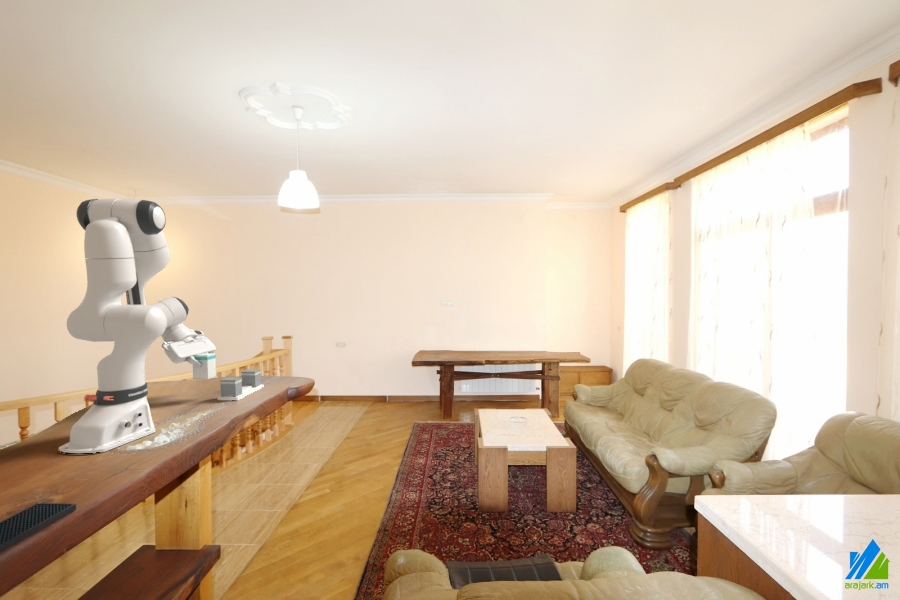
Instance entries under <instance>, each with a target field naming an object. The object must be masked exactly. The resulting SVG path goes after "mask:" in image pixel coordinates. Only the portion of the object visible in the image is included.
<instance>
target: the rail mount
mask: <svg viewBox="0 0 900 600" xmlns="http://www.w3.org/2000/svg"><path fill="white" fill-rule="evenodd" d="M261 375H262V374H261V369H255V368H254V369H253V368H250V369H249V368H248V369H244V370H241V371H240V377H239V376H238V377H232V376H230V377H228V376H227V377H225V378H222V379H220V380H219V385H220V395H219V396H217V401H232V400H238V401H240V400H242V399H244V398H246V397H247V395H248V396H249V394H250V395H252V394H254V393H255V391H256V392H257V390H258V391H259V390H262V389H263V388H264V387H265V384H262V380H261V378H262V377H261ZM262 387H263V388H262ZM253 392H254V393H253ZM251 393H252V394H251ZM245 396H246V397H245Z"/></svg>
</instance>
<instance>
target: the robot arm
mask: <svg viewBox="0 0 900 600" xmlns="http://www.w3.org/2000/svg"><path fill="white" fill-rule="evenodd" d="M76 219H77V221H78V224H79V226H80V227H81V228H82V230H84V231H85V232H84V239H83V241H84V242H83V245H84V246H83V247H84V248H83V249H84V260H85V268H86V270H85V271H86V279H87V280H86V281H87V284H86V285H87V286H86V292H85V295H84V298H83V300H82V301H81V303H80V304H79V305H78V307H76V308H75V309H74V310H71V312H70V314H69V315H68V317H67V319H66V329H67V332H68V333H69V334H70V336H72V338H75V339H77V340H82V341H87V342H94V343H96V342H98V343H99V342H102V343H103V342H114V343H113V344H114V345H113V348H112V352H111V353H110V354H109V355H106V356H105V357H103V358H102V359H101V360H99V362H98V364H97V366H96V369H97V370H96V374H97V388H98V389H97V390H96V392H95V394H85V396H84V397H83V401H84V402H86V403H87V402H88V403H89V402H91V403H92V406H91V407H90V408H89V409H88V410H86V412H85V413H84V414H83V415H82V416H81V417H80V418H79V419H78V420H77V421H76V422H75V423H74V424H73V425H72V426H71V428H70V435H69V442H66V443H64V444H62V445H60V446H59V447H58V451H59V450H60V451H63V452H69V453H93V454H97V453H96V452H100V453H105V452H107V451H110V450H112V449H115V448H118V447H120V446H123V445H126V444H128V443H131V442H134V441H136V440H138V439H141V438H144V437H146V436H148V435H151V434H154V433H156V427H155V423H154V421H153V418H152V413H151V408H150V405H149V402H148V399H147V398H148V397H147V396H148V394H149V392H148V391H149V387H148V383H147V382H146V358H147V354H148V351H149V349H150V348H151V345H153V343H154V341H156V340H157V339H158V338H160V337H161V338H162V340H163V341H164V342H162V344H161V347H162V349H163V350H164V353H165V355H166V356H167V357H168V359H169V360H170V361H171V362H172V363H174V364H180V363H181V364H182V363H184V362H187V363H189V364H191V365H192V366H193V365H195V366H196V367H197V368H199V367H201V366H202V365H203V364H202V363H201V362H200V361H197V360H195V359H194V357H193V356H194V355H198V354H202V353H216V350H217V348H216V345H215V344H214V343H213V342H212V341H211V340H210V339H209V338H208V337H206V336H205V333H204V332H203V331H201V330H197V329H196V330H195V329H192V328H189V327H187V325H185V324H184V323H183V322H184V321H185V320H186V319H187V316H188V315H189V311H190V309H189V306H188V305H187V304H186V303H185V301H184V300H183V299H180V298H179V297H177V296H176V297H175V296H171V297H167V298H164V299H162V300H159V301H157V302H155V303H153V304H151V305H150V304H149V305H148V304H147V303H146V302H147V301H146V295H145V289H146V285H147V284H148V283H149V281H151V279H153V277H155V276H156V275H157V274H158V273H160V272H161V271H163V270H164V269H165V268H166V267H167V265H168V264H169V262H170V261H171V250H170V247H169V244H168V240H167V238H166V234H165V233H164V228H165V226H166V213H165V211H164V209H163V208H162V207H161V206H160V205H159V204H158V203H157V202H155V201H152V200H151V201H150V200H145V199H141V200H138V199H129V198H128V199H126V198H125V199H124V198H119V197H118V198H101V199H100V198H99V199H98V198H92V199H87V200H84V201H82V202H81V203H80V204H79V205H78V207H77V208H76ZM124 294H125V296H126V303H127V304H122V299H123V296H124Z"/></svg>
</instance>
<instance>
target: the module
mask: <svg viewBox="0 0 900 600" xmlns="http://www.w3.org/2000/svg"><path fill="white" fill-rule="evenodd" d="M193 357H194V359H195V360H197V361H200V362H201V363H202V364H203V365H202V366H201V367H199V368H197V367H196V366H195V365H193V364H192V379H193V380H210V379H212V378H216V377H217V364H216V363H217V362H216V361H217V359H216V352H214V353H202V354H198V355H194V356H193Z"/></svg>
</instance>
